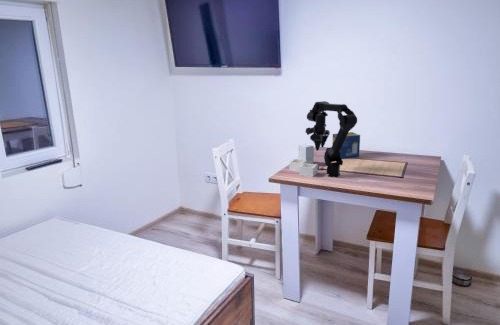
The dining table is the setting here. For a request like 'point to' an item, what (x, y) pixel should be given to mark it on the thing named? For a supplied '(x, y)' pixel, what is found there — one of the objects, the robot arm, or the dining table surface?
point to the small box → (306, 153)
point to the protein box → (349, 145)
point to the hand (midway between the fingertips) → (319, 148)
